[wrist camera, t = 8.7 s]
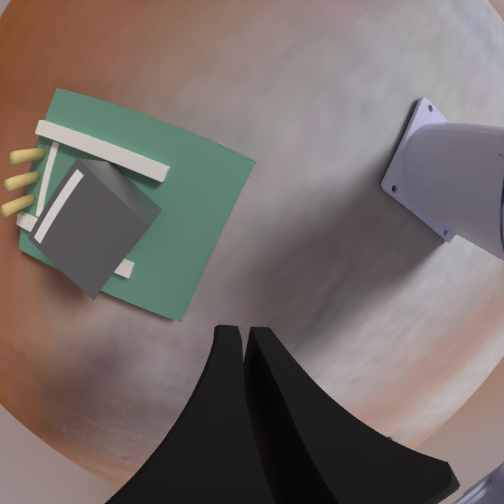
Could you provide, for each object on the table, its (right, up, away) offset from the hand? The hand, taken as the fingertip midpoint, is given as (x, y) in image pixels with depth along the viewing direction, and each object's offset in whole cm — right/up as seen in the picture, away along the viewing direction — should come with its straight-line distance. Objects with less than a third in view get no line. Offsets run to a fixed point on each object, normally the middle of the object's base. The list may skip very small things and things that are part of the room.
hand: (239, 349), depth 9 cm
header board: (-8, +6, +6) cm, 12 cm away
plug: (-7, +5, +5) cm, 10 cm away
